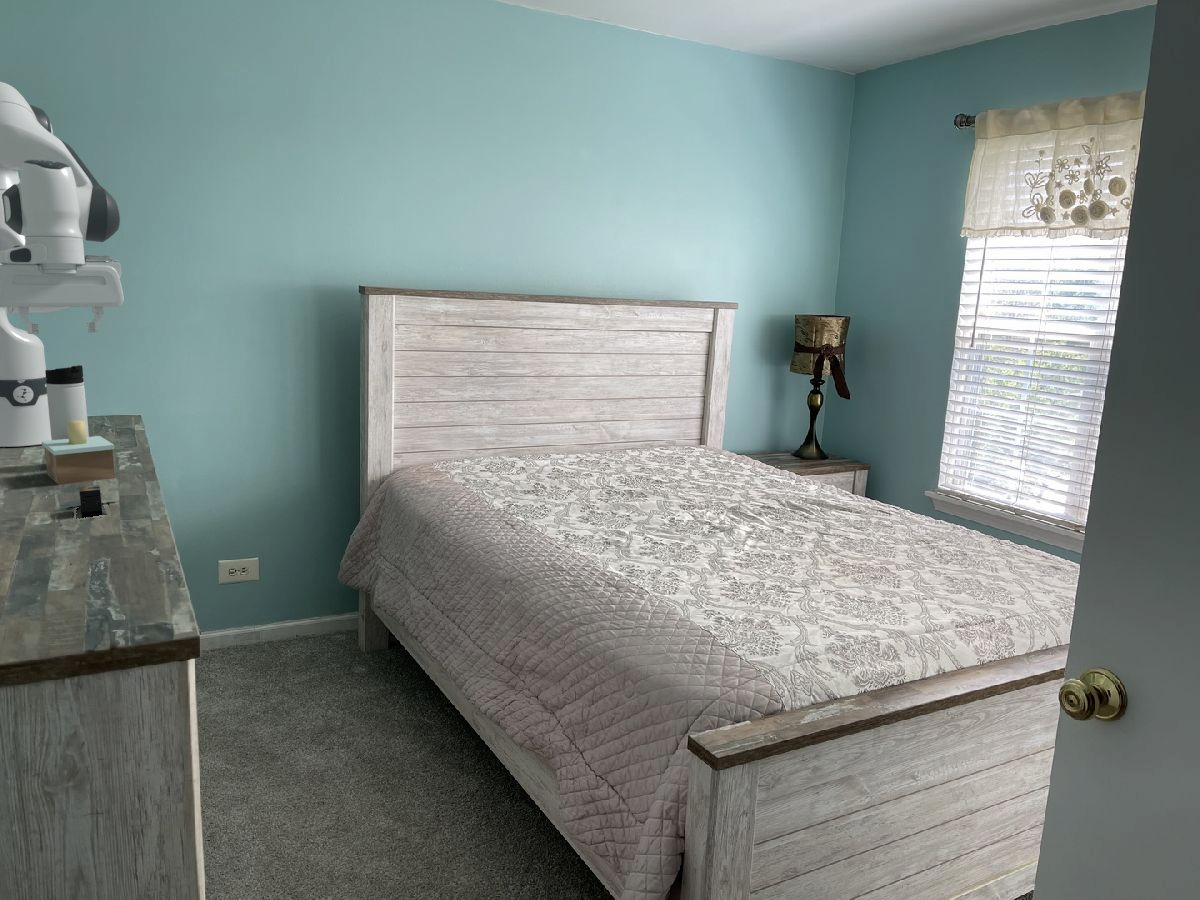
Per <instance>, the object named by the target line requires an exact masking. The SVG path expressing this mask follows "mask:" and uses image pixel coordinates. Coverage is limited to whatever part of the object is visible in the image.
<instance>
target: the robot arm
mask: <svg viewBox="0 0 1200 900" xmlns="http://www.w3.org/2000/svg"><path fill="white" fill-rule="evenodd" d="M19 171H20V176H19ZM120 225H121V216H120V211H119V206H118V203H117V201H116V200H115V198H114V197H113V196H112V194H111V193H109V191H108V190H106V189H105V188H104V187H103V186H102V185H101V184H100V183H99V182H98V181H97V180H96V178H95V177H94V175H93V174H92V173H91V171H90V170H89V169H88V167H87V166H86V164H85V163H84V162H83V160H82V159H81V158H80V157H79V155H78V154H77V153H76V152H75V150H74V149H73V148H72V147H71V145H70V144H68V143H67V142H66V141H64V140H62V139H61V138H58V137H57V135H54V130H53V126H52V124H51V122H50V118H49V115H48V114H47V113H46V111H45V110H44V109H42V108H40V107H38V106H35V105H32V104H29V102H27V100H26V98H25V97H24V96H23V95H22V94H21V93H20V92H19V90H17V88H15V87H13V86H12V85H10V84H8V83H6V82H3V81H0V447H2V448H5V447H25V446H26V447H27V446H38V445H42V441H49V440H52V439H51V429H50V419H49V408H48V398H47V385H46V380H47V378H46V374H45V370H47V365H46V355H45V346H44V343H43V341H42V340H41V339H40V338H39V337H38V336H37V334H38V335H39V332H40V331H39V324H38V323H36V322H35V323H33V322H32V321H31V319H30V318H29V317H28V316H27V315H29V314H31V313H36V314H37V313H39V314H40V313H43V314H44V313H51V312H56V311H62V310H65V309H69V308H91V309H92V310H91V311H92V314H95V315H94V317H93V318H92V320H91V322H86V327H87V328H86V331H87V333H99V322H100V321H101V319H102V317H103V315H104V308H108V307H109V308H111V307H112V308H115V307H116V308H119V307H121V306H122V305H123V304H124V302H125V297H124V291H123V286H122V283H121V278H122V275H123V271H122V265H121V263H120V262H119V260H117V259H115V258H112V256H111V255H109V256H108V255H103V256H102V255H101V256H100V255H99V256H98V255H85V248H84V246H85V245H84V241H88V242H89V241H90V242H95V243H97V242H98V243H104V242H106V241H107V240H109V239H110V238H111V237H113V236H114V235H115V234H116V233H117V231H118V230H119V229H120ZM14 313H15V314H17V315H18V316H19V317H20V318H21V320H23V322H24V323H25V324H26V330H25V329H22V328H19V327H17V326H14V325H13V324H11V323H10V321H9V318H8V314H14ZM35 334H36V335H35Z"/></svg>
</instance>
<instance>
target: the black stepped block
mask: <svg viewBox="0 0 1200 900" xmlns="http://www.w3.org/2000/svg"><path fill="white" fill-rule="evenodd" d="M78 491H79V503H80V506H78V507H79V508H77V509H76V510H77V511H76V513H77V514H76V519H77V518H79V519H80V518H84V517H85V518H86V517H93V516H99V515H107V513H106V511H105V510H106V509H105V508H104V506H102V505H103V504H102V495H101V494H102V493H101V485H100V484H95V485H84V486H79V487H78Z"/></svg>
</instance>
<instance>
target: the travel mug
mask: <svg viewBox="0 0 1200 900" xmlns="http://www.w3.org/2000/svg"><path fill="white" fill-rule="evenodd" d="M45 374H46V378H47V380H46V385H47V398H48V408H49V419H50V429H51V439H52V440H60V439H69V438H68V427H67V422H68V421H73V420H84V421H85V430H86V437H90V435H89V423H88V411H87V403H86V402H87V398H86V390H85V385H84V384H85V381H84V378H83V377H84V369H83V365H82V364H81V365H79V364H78V365H72V366H70V367H61V368H55V369H46V370H45Z"/></svg>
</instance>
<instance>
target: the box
mask: <svg viewBox="0 0 1200 900" xmlns="http://www.w3.org/2000/svg"><path fill="white" fill-rule="evenodd" d="M113 450H114V449H111V450H101V451H91V452H81V453H71V454H61V455H53V454H52V453H51V452H50V451H48V450H47V449H46V448H45V447H44V455H45V466H46V474H47V476H48V477H49V478H50V479H51V480H53V482H55V483H56V484H57V485H58V486H62V485H70V484H78V483H80V484H81V483H87V482H88V483H89V482H97V481H104V480H113V479H115V475H116V474H115V464H114V453H113V452H114V451H113Z"/></svg>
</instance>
